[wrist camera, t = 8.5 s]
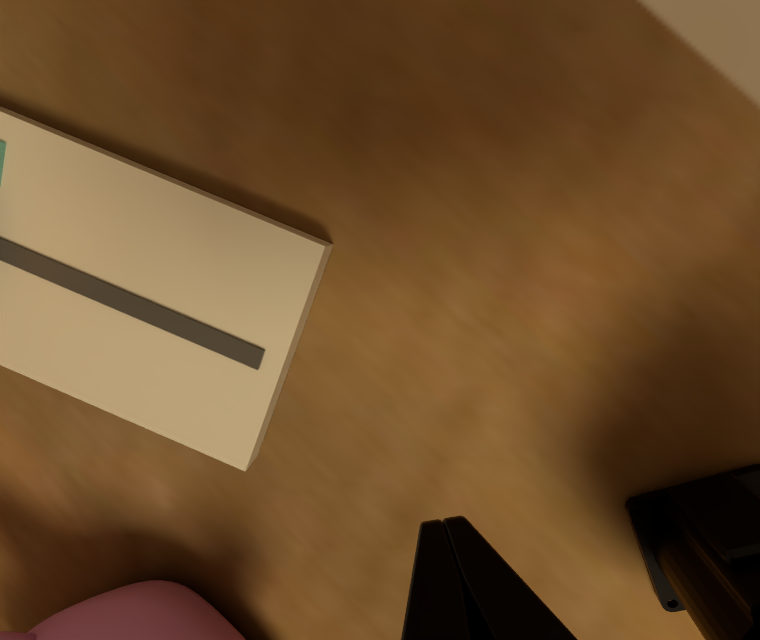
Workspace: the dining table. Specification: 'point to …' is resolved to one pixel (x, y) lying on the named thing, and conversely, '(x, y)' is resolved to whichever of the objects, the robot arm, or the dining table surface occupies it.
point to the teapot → (136, 617)
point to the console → (147, 291)
